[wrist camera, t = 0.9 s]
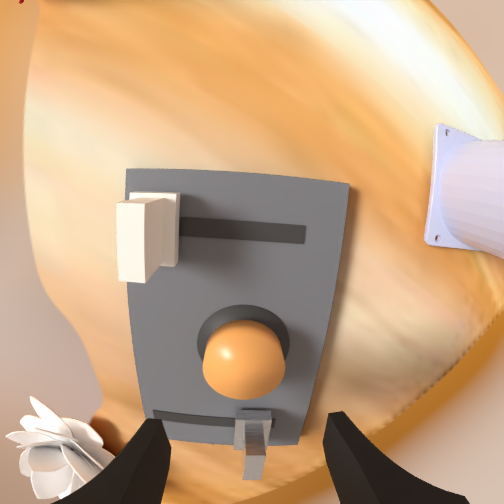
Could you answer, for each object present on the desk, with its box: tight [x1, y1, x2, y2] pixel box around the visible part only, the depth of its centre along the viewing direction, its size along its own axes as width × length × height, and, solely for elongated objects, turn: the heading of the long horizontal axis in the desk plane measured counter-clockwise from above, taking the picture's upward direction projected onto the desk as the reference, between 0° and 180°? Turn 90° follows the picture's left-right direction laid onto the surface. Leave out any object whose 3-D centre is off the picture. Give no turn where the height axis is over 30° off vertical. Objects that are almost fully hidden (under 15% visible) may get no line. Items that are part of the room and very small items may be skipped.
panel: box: [125, 169, 349, 446], centre depth 18 cm, size 12×20×1 cm, turn 176°
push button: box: [203, 320, 285, 400], centre depth 16 cm, size 4×4×2 cm
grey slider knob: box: [234, 410, 272, 480], centre depth 17 cm, size 2×4×4 cm, turn 176°
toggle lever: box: [117, 191, 180, 283], centre depth 13 cm, size 2×4×4 cm, turn 175°
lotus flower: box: [6, 396, 115, 499], centre depth 17 cm, size 14×15×9 cm
